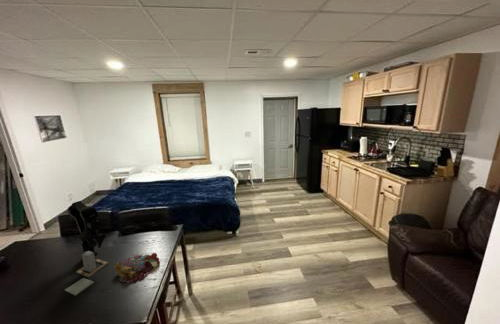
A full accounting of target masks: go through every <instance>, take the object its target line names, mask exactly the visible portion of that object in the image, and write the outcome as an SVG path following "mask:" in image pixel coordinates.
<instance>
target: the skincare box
mask: <svg viewBox="0 0 500 324" xmlns="http://www.w3.org/2000/svg"><path fill="white" fill-rule="evenodd" d="M81 259H82V263H83V267H84V270H83V271H84V272H86V273H91V272H92V271H94V270H95V269H97V262H96V263H95V260H96V259H95V255H94V253H93V252H90V251H87V252H83V253H82V254H81Z"/></svg>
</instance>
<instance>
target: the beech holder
mask: <svg viewBox="0 0 500 324" xmlns="http://www.w3.org/2000/svg"><path fill="white" fill-rule="evenodd" d="M95 263H96V264H97V263H99V264H102V265H99V267H96V269H94V270H93V271H91V272H87V271H85V270H84V266H82V267H81V268H78V269H77V270H76V274H78V275H82V276H84V277H87V278H90V277H91V276H93V275H94V274H95V273H97V272H99V271H100V270H102V269H103V268H105V267H106V266H108V265H109V262H108V261H104V260H101V259H99V258H96V259H95Z"/></svg>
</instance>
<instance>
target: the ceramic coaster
mask: <svg viewBox="0 0 500 324" xmlns="http://www.w3.org/2000/svg"><path fill="white" fill-rule="evenodd" d="M94 283H95V282H94V281H93V280H90V279H87V278H85V277H83V278H81V279H79V280H78V281H76V282H75V283H73V284H72V285H70V286H69V287H66V288H65V289H64V292H67V293H69V294H71V295H73V296H77V295H79V293H82V292H83V291H84V290H85V289H87V288H88V287H90V286H91V285H93V284H94Z"/></svg>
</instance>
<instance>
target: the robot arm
mask: <svg viewBox="0 0 500 324" xmlns="http://www.w3.org/2000/svg"><path fill="white" fill-rule="evenodd" d="M66 210H67V213H68V215H69V216H70V217H71V218H73V219H74V221H75V223H76V226H77V228H78V231H79V235H77V236H76V239H77V241H78V242H80V245H79V248H80V251H81V252H83V253H85V252H87V251H90V252H93V253H94V256H95V255H97V254H98V252H96V250H95V247H97V248H98V249H100V248H101V247H102V245H103V242H104V240H105V239H106V238H107V234H106V233H103V232H100V231H99V229H101V227H102V222H101V221H99V220H98V219H97V218H99V213H98V211H97V208H96V207H94V206H91V205H86V204H84V203H83V201H81V200H77V201H75V202H73V203H71V205H70V206H68V207H67V209H66Z"/></svg>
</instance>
